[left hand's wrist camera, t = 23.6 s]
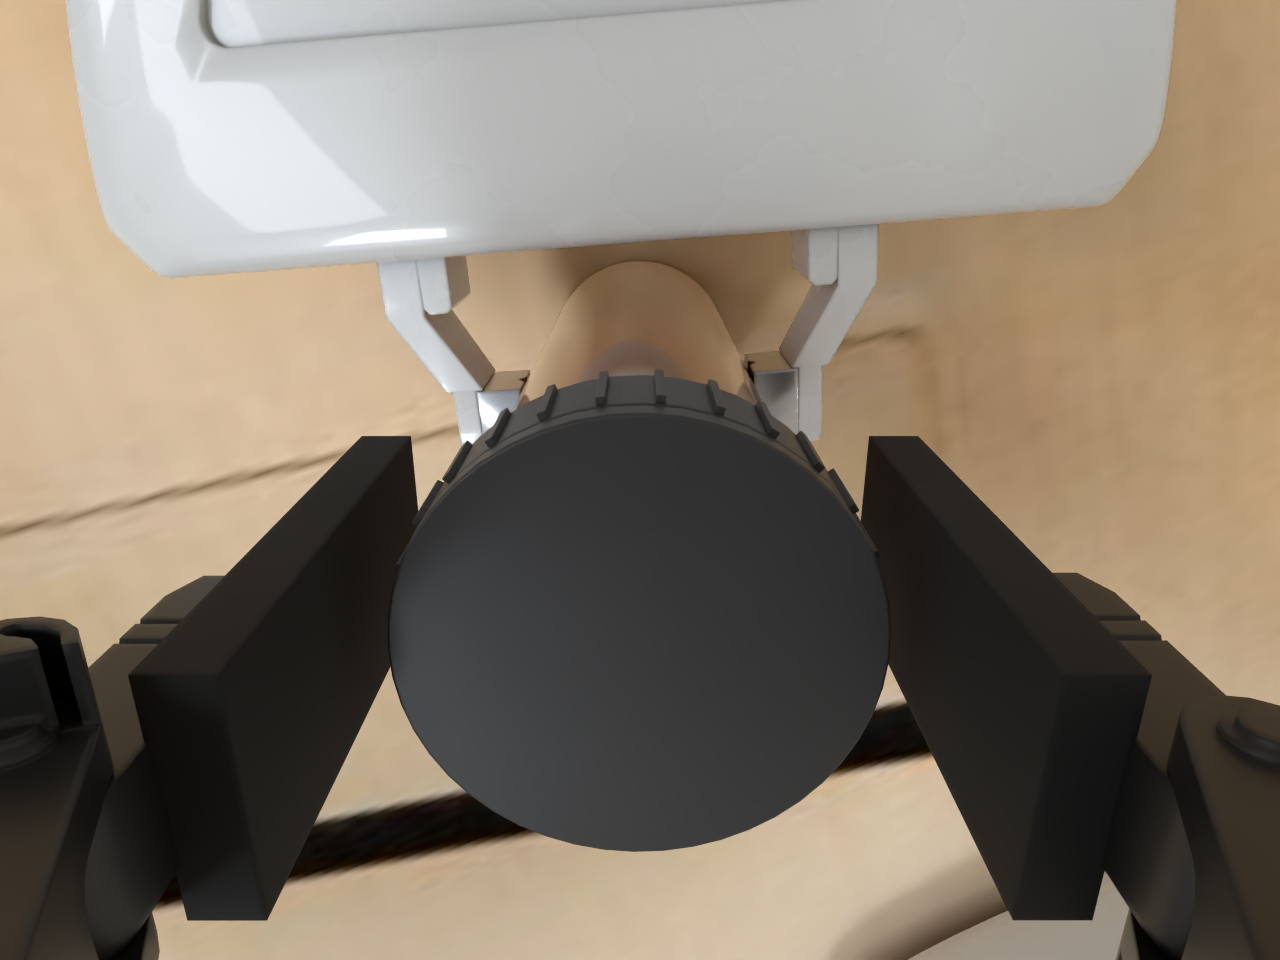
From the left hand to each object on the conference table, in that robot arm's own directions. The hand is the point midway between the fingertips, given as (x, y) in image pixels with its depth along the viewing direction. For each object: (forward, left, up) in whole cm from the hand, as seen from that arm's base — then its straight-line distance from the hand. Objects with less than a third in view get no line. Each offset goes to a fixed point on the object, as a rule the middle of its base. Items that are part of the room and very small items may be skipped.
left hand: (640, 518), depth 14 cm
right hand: (-1, 0, -6) cm, 6 cm away
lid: (0, 0, +4) cm, 4 cm away
